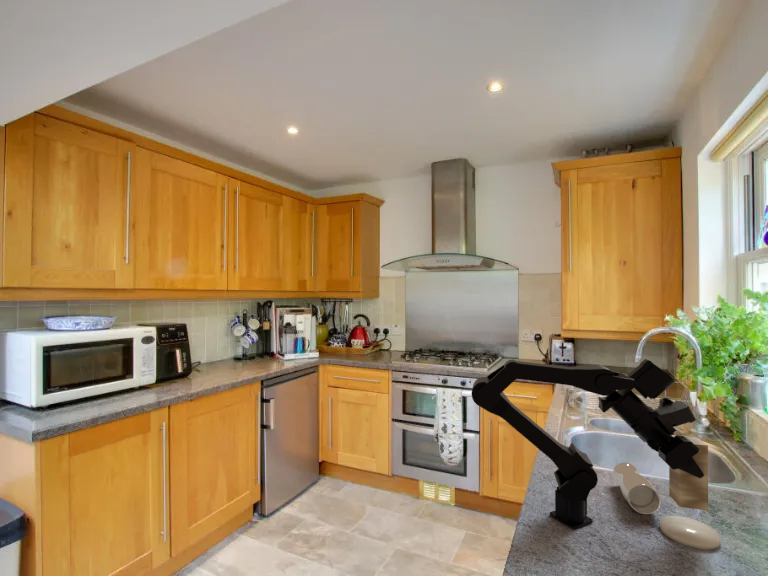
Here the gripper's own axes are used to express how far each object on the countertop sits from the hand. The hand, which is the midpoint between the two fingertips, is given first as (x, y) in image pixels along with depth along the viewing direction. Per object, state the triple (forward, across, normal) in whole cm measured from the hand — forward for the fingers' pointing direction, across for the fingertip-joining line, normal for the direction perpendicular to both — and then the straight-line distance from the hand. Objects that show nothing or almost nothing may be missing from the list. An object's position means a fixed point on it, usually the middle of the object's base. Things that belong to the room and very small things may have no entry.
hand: (695, 471), depth 84 cm
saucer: (+8, 0, +10) cm, 13 cm away
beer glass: (+2, +21, +12) cm, 24 cm away
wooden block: (+4, 0, +6) cm, 7 cm away
